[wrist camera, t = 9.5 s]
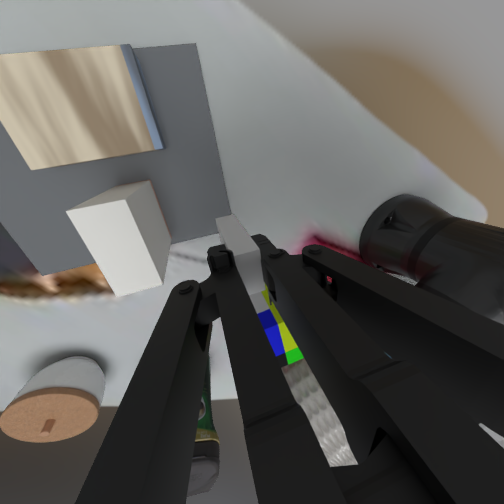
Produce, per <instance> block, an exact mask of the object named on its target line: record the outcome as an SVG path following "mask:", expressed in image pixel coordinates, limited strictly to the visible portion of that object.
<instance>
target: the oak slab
mask: <svg viewBox="0 0 504 504" xmlns="http://www.w3.org/2000/svg"><path fill="white" fill-rule="evenodd" d="M0 121H1V123H2V124H3V126H4V127H5V129H6V131H7V132H8V134H9V135H10V137H11V139H12V140H13V142H14V144H15V145H16V147H17V148H18V150H19V152H20V153H21V155H22V156H23V158H24V160H25V161H26V163H27V164H28V166H29V168H30V169H31V170H38V169H45V168H53V167H59V166H65V165H71V164H77V163H83V162H89V161H95V160H101V159H107V158H113V157H119V156H125V155H131V154H137V153H143V152H149V151H155V150H161V149H166V146H165V142H164V139H163V136H162V133H161V130H160V126H159V123H158V120H157V117H156V114H155V110H154V107H153V104H152V101H151V98H150V94H149V91H148V88H147V85H146V81H145V78H144V75H143V72H142V69H141V65H140V62H139V60H138V58H137V56H136V55H135V53H134V51H133V49H132V47H131V46H130V44H125V45H113V46H100V47H88V48H75V49H63V50H50V51H38V52H25V53H13V54H0Z"/></svg>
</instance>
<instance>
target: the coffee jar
mask: <svg viewBox="0 0 504 504" xmlns="http://www.w3.org/2000/svg"><path fill="white" fill-rule="evenodd" d="M219 445H220V444H219V438H218V435H217V432H216V430H215V427H214V424H213V419H212V411H211V388H210V358H209V355H208V359H207V366H206V372H205V379H204V386H203V392H202V399H201V405H200V412H199V419H198V425H197V432H196V439H195V445H194V452H193V458H192V465H191V472H190V478H189V485H188V492H187V497H189V496H192V495H196V494H200V493H204V492H208V491H209V490H210V489H211V488H212V486H213V485H214V483H215V482H216V480H217V477H218V474H219V462H220V461H219Z"/></svg>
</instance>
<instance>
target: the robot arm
mask: <svg viewBox="0 0 504 504" xmlns="http://www.w3.org/2000/svg"><path fill="white" fill-rule="evenodd" d="M215 220H216V224H217V228H218V232H219V236H220V240H221V245H217V246H214V247H210V248H209V249H208V251H207V253H208V257H207V261H208V264H209V267H210V271H211V275H210V276H209V278H208V279H206V280H205V281H203V282H201V283H198V282H197V281H195V280H187V281H183V282H181V283H179V284H178V285H176V286H175V287H174V288H173V289H172V291H171V293H170V295H169V298H168V300H167V302H166V304H165V306H164V309H163V311H162V313H161V315H160V317H159V320H158V322H157V324H156V326H155V328H154V331H153V333H152V335H151V337H150V339H149V342H148V344H147V346H146V348H145V350H144V353H143V355H142V357H141V359H140V361H139V364H138V366H137V368H136V370H135V372H134V375H133V377H132V379H131V381H130V383H129V386H128V388H127V390H126V392H125V394H124V397H123V399H122V401H121V403H120V405H119V408H118V410H117V412H116V414H115V416H114V419H113V421H112V423H111V425H110V427H109V430H108V432H107V434H106V436H105V439H104V441H103V443H102V445H101V447H100V449H99V452H98V454H97V456H96V458H95V460H94V463H93V465H92V467H91V469H90V471H89V474H88V476H87V478H86V480H85V482H84V485H83V487H82V489H81V491H80V494H79V496H78V498H77V500H76V502H75V504H186V497H187V492H188V485H189V478H190V472H191V465H192V458H193V452H194V445H195V439H196V432H197V425H198V419H199V412H200V405H201V399H202V392H203V386H204V379H205V372H206V366H207V359H208V352H209V346H210V339H211V332H212V326H213V325H212V321H214V320H216V319H217V318H219V317H221V321H222V326H223V330H224V335H225V340H226V344H227V349H228V354H229V358H230V363H231V368H232V372H233V377H234V381H235V386H236V391H237V395H238V400H239V404H240V409H241V414H242V419H243V424H244V435H245V440H246V445H247V450H248V455H249V460H250V464H251V470H252V474H253V479H254V484H255V488H256V494H257V498H258V503H259V504H504V228H500V227H496V226H492V225H488V224H483V223H479V222H475V221H471V220H466V219H462V218H459V217H455V216H452V215H451V214H449V213H447V212H446V211H444V210H443V209H441V208H440V207H438V206H436V205H435V204H433V203H432V202H430V201H429V200H427V199H425V198H422V197H418V196H413V195H400V196H397V197H394V198H392V199H390V200H389V201H387V202H385V203H384V204H383V205H382V206H380V207H379V208H378V209H377V210H376V211H375V212H374V214H373V215H372V216H371V217H370V219H369V220H368V222H367V224H366V225H365V228H364V230H363V232H362V235H361V239H360V253H361V256H362V258H363V260H364V261H365V262H366V263H367V264H369V265H370V266H372V267H370V266H368V265H366V264H364V263H361V262H359V261H357V260H354V259H352V258H350V257H347V256H345V255H343V254H341V253H338V252H336V251H334V250H331V249H329V248H327V247H325V246H322V245H316V244H313V245H309V246H306V247H304V248H303V249H302V254H299V255H289V254H288V253H287V252H286V251H285V250H283V249H277V248H276V247H275V246H274V245H273V244H272V243H271V242H270V241H269V240H268V238H267V237H266V236H264V235H261V234H258V235H254V236H250V235H249V234H248V233H247V231H246V230H245V229H244V227H243V226H242V224H241V223H240V222H239V220H238V219H237V218H236V216H235V215H234V214H233V215H228V216H224V217H220V218H216V219H215ZM373 267H374V268H373ZM382 271H384V272H388V273H392V274H396V275H400V276H405V277H409V278H411V279H413V280H414V281H416V282H418V283H417V284H416V285H415V286H414V285H412V284H409V283H407V282H405V281H402V280H400V279H398V278H396V277H393V276H391V275H389V274H386V273H384V272H382ZM327 276H329V277H331V278H332V283H331V282H329V281H327ZM265 284H266V286H267V288H268V295H269V302H270V306H271V305H272V302H273V304H274V305H275V307H276V309H277V311H278V313H279V314H280V316H281V318H282V320H283V321H284V323H285V325H286V327H287V328H288V330H289V332H290V334H291V336H292V337H293V339H294V341H295V343H296V344H297V346H298V348H299V350H300V351H301V353H302V355H303V357H304V359H305V360H306V362H307V364H308V366H309V367H310V369H311V371H312V373H313V374H314V376H315V378H316V380H317V382H318V383H319V385H320V387H321V389H322V390H323V392H324V394H325V396H326V398H327V399H328V401H329V403H330V405H331V406H332V408H333V410H334V412H335V413H336V415H337V417H338V419H339V421H340V423H341V424H342V427H343V429H344V432H345V435H346V439H347V442H348V444H349V447H350V449H351V451H352V453H353V455H354V457H355V459H356V461H357V463H358V464H357V465H346V466H334V467H330V465H329V463H328V461H327V458H326V456H325V454H324V452H323V450H322V448H321V445H320V443H319V441H318V439H317V437H316V434H315V432H314V430H313V428H312V426H311V424H310V421H309V419H308V417H307V415H306V413H305V411H304V410H303V408H302V407H301V405H299V404H298V403H297V402H296V400H295V398H294V396H293V394H292V392H291V390H290V387H289V385H288V383H287V380H286V378H285V376H284V374H283V371H282V369H281V367H280V365H279V362H278V360H277V358H276V356H275V353H274V351H273V349H272V346H271V344H270V342H269V340H268V337H267V335H266V333H265V331H264V328H263V326H262V324H261V321H260V319H259V317H258V315H257V312H256V310H255V308H254V306H253V303H252V301H251V299H250V296H249V295H251V294H255V293H258V292H261V291H264V290H266V288H265Z"/></svg>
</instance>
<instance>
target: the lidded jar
mask: <svg viewBox="0 0 504 504" xmlns="http://www.w3.org/2000/svg"><path fill="white" fill-rule="evenodd" d="M104 390H105V377H104V374H103V371H102V370H101V368H100V367H99V366H98V364H97V362H96V361H95V360H93V359H91V358H88V357H84V356H72V357H67V358H65V359H62V360H61V361H58V362H55V363H53V364H51V365H49V366H47V367H45V368H44V369H42V370H41V371H39V372H38V373H37V374H36V375H34V376H33V377H32V378H31V379H30V380H29V381H28V382H27V383H26V384H25V385H24V386H23V388H22V389H21V390H20V391H19V392H18V394H17V395H16V396H15V398H14V399H13V401H12V402H11V403H10V404H9V405H8V406H7V407H6V409H5V410H4V412H3V413H2V415H1V417H0V427H1V429H2V431H3V432H4V433H6V434H7V435H8V436H10V437H13V438H15V439H18V440H22V441H27V442H52V441H59V440H63V439H67V438H70V437H73V436H76V435H78V434H80V433H82V432H84V431H85V430H87V429H88V428H89V427H91V426H92V425H93V424H94V422H95V421H96V419H97V417H98V414H99V411H100V406H101V403H102V399H103V395H104Z"/></svg>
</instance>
